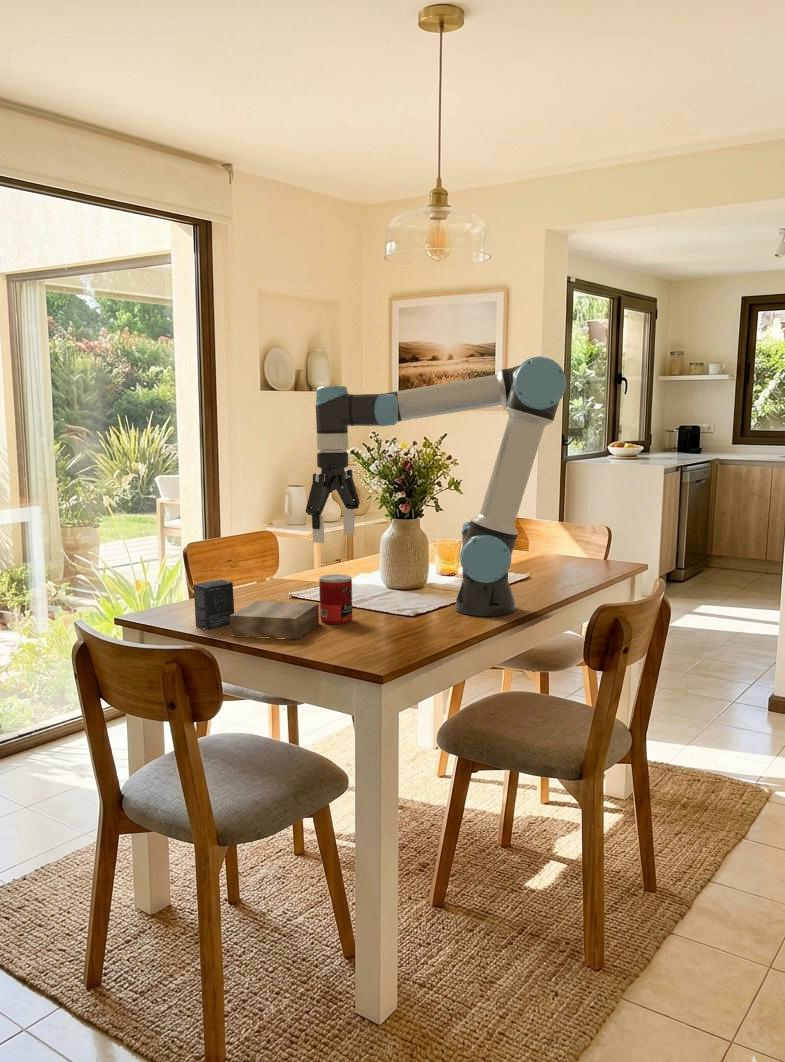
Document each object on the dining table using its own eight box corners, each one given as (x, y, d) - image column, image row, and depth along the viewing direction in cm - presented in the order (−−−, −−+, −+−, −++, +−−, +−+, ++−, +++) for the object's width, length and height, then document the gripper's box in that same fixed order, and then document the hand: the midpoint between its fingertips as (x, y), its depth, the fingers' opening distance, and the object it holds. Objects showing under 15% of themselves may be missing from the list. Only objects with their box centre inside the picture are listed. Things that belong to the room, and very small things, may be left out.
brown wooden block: (318, 623, 222) (318, 603, 222) (296, 640, 207) (295, 618, 206) (257, 620, 226) (256, 600, 226) (230, 636, 211) (229, 615, 210)
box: (222, 620, 227) (220, 579, 225) (235, 624, 223) (233, 582, 221) (194, 626, 221) (193, 583, 220) (207, 630, 217) (205, 586, 216)
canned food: (348, 625, 220) (347, 580, 219) (316, 624, 222) (315, 579, 221) (355, 618, 228) (355, 574, 226) (324, 616, 229) (324, 573, 228)
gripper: (347, 448, 232) (348, 531, 235) (289, 453, 210) (291, 544, 213) (372, 448, 228) (373, 532, 231) (316, 454, 207) (318, 546, 210)
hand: (334, 538), depth 222 cm, fingers open, 13 cm apart
